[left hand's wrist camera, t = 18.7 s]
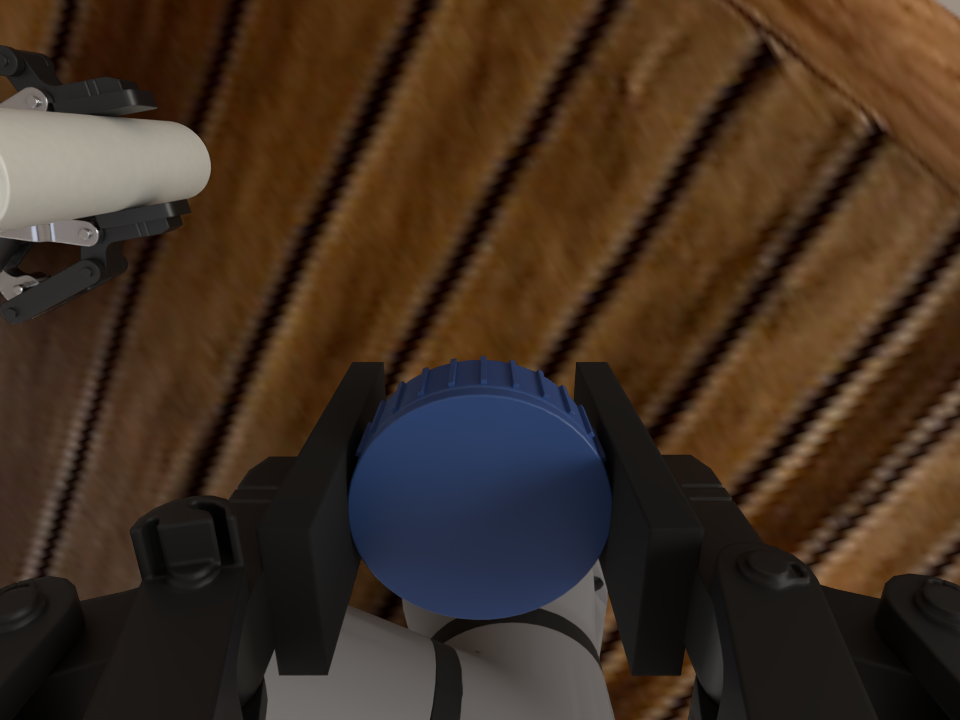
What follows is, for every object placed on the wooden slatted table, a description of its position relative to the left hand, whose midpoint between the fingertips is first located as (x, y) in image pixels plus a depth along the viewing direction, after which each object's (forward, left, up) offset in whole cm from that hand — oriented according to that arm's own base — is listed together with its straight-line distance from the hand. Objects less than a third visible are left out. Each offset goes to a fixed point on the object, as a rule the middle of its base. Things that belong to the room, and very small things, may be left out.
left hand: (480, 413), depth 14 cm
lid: (0, 0, +4) cm, 4 cm away
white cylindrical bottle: (-3, +18, -23) cm, 29 cm away
